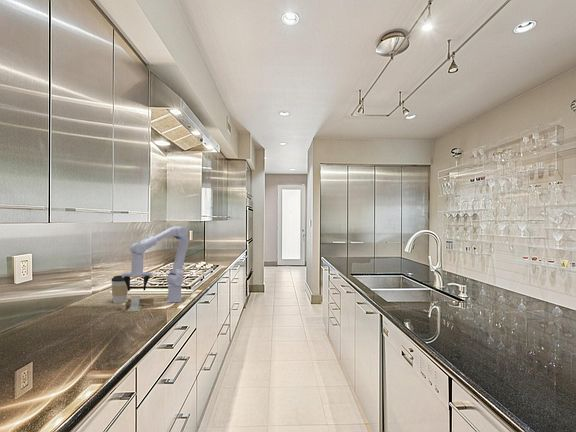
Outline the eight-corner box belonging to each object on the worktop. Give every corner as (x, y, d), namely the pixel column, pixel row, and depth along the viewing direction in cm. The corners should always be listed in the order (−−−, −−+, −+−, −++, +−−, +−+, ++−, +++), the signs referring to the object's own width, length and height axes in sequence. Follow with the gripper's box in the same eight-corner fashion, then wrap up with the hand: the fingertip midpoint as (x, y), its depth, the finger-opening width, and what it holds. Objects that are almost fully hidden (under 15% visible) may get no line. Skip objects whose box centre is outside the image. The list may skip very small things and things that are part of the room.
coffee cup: (111, 300, 189) (112, 274, 189) (128, 299, 193) (129, 273, 193) (110, 304, 181) (110, 277, 181) (128, 302, 185) (128, 276, 185)
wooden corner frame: (126, 305, 179) (126, 299, 179) (153, 304, 183) (153, 298, 183) (121, 312, 167) (121, 305, 167) (150, 310, 171) (151, 304, 171)
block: (131, 307, 175) (131, 296, 175) (139, 306, 176) (139, 295, 176) (129, 310, 168) (129, 299, 168) (138, 310, 169) (138, 298, 170)
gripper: (152, 263, 182) (151, 288, 182) (123, 264, 177) (123, 289, 177) (151, 265, 175) (150, 290, 175) (121, 266, 171) (120, 292, 171)
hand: (136, 290), depth 176 cm, fingers open, 7 cm apart
